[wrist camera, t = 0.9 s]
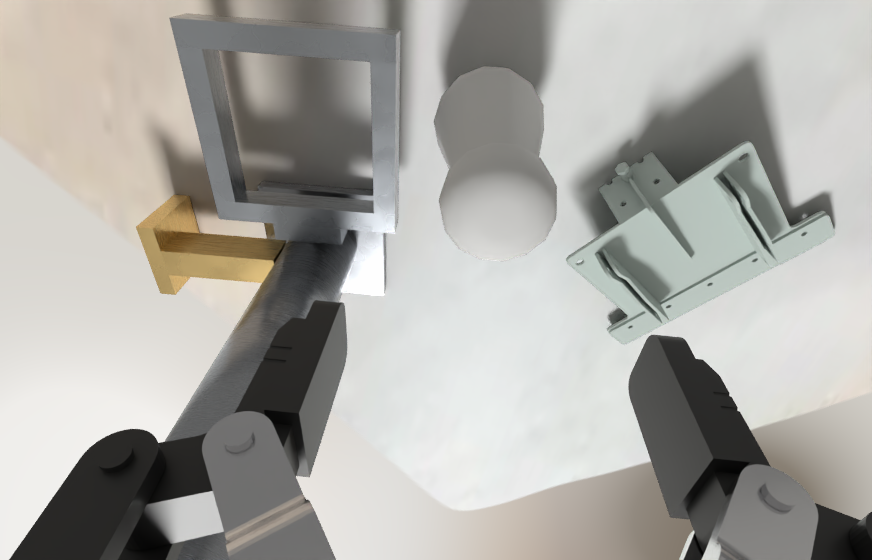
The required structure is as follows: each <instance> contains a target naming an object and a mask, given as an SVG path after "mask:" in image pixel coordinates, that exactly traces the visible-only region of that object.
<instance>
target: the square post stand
mask: <svg viewBox="0 0 872 560" xmlns="http://www.w3.org/2000/svg"><path fill="white" fill-rule="evenodd" d="M170 22H171V26H172V30H173V34H174V38H175V42H176V46H177V50H178V54H179V58H180V63H181V67H182V71H183V75H184V79H185V83H186V87H187V91H188V95H189V99H190V103H191V107H192V111H193V115H194V119H195V123H196V127H197V131H198V135H199V139H200V143H201V147H202V151H203V156H204V160H205V164H206V168H207V172H208V176H209V180H210V184H211V188H212V192H213V196H214V200H215V204H216V208H217V212H218V216H219V219H226V220H238V221H250V222H262V223H264V224H265V230H266V235H267V239H264V238H252V237H240V236H228V235H216V234H204V233H199V229H198V226H197V222H196V219H195V215H194V212H193V208H192V204H191V201H190V197H189V196H185V195H173V196H172V197H171V198H170V199H169V200H167V201H166V202H165V203H164V204H163V205H162V206H160V207H159V208H158V209H157V210H156V211H154V212H153V213H152V214H151V215H150V216H148V217H147V218H146V219H145V220H144V221H143V222H141V223H140V224H139V225H138V226H137V227H136V229H137V231H138V234H139V237H140V239H141V242H142V245H143V247H144V250H145V253H146V255H147V258H148V261H149V264H150V266H151V269H152V272H153V274H154V277H155V280H156V282H157V285H158V288H159V290H160V293H162V294H174V295H175V294H177V292H178V291H179V290H180V289H181V288H182V286H183V285H184V284H185V283H186V282H187V281H188V279H189V278H190V277H199V278H211V279H222V280H234V281H246V282H258V283H262V285H261V286H260V288H259V289H258V291H257V293H256V294H255V296H254V297H253V299H252V301H251V302H250V304H249V306H248V307H247V309H246V310H245V312H244V314H243V315H242V317H241V319H240V320H239V322H238V323H237V325H236V327H235V328H234V330H233V332H232V333H231V335H230V336H229V338H228V340H227V341H226V343H225V345H224V347H223V348H222V349H221V351H220V353H219V354H218V356H217V358H216V359H215V361H214V362H213V364H212V366H211V367H210V369H209V371H208V372H207V374H206V375H205V377H204V379H203V381H202V382H201V384H200V385H199V387H198V388H197V390H196V392H195V393H194V395H193V396H192V398H191V400H190V401H189V403H188V405H187V406H186V408H185V409H184V411H183V413H182V414H181V416H180V418H179V420H178V421H177V423H176V424H175V426H174V427H173V429H172V431H171V432H170V434H169V435H168V437H167V439H166V441H165V442H167V441H173V440H178V439H184V438H189V437H195V436H199V435H202V434H205V433H208V431H209V430H210V429H211V428H212V426H213V425H214V424H216V423H217V422H218V421H220V420H221V419H223V418H224V417H226V416H229V415H231V414H234V412H235V411H236V409H237V408H238V406H239V404H240V402H241V400H242V398H243V396H244V394H245V392H246V390H247V388H248V386H249V384H250V383H251V381H252V379H253V377H254V375H255V373H256V371H257V369H258V367H259V365H260V363H261V361H263V358H264V356H265V354H266V352H267V350H268V348H270V344H271V342H272V340H273V338H274V336H275V334H276V332H277V331H278V329H280V328H281V327H282V326H283V325H284V324H285V323H287V322H288V321H289V320H290V319H291V318H293V317H294V318H304V319H306V317H307V315H308V312H309V310H310V308H311V306H312V304H313V302H314V301H315V300H320V301H330V302H339V300H340V298H341V295H342V292H344V293H356V294H367V295H379V296H384V293H385V233H395V230H396V227H397V223H398V195H399V111H400V30H397V29H384V28H371V27H357V26H344V25H331V24H318V23H305V22H292V21H279V20H266V19H252V18H239V17H226V16H213V15H200V14H183V15H179V16H175V17H171V18H170ZM218 50H225V51H238V52H251V53H264V54H277V55H289V56H302V57H315V58H328V59H341V60H354V61H367V62H370V65H371V109H372V152H373V190H362V189H350V188H338V187H326V186H313V185H301V184H289V183H277V182H264V181H262V182H261V183H260V184H259V186H258V191H251V190H246V186H245V181H244V176H243V171H242V166H241V161H240V156H239V151H238V146H237V141H236V136H235V131H234V126H233V121H232V116H231V111H230V106H229V101H228V96H227V91H226V86H225V81H224V76H223V71H222V66H221V61H220V56H219V51H218ZM177 560H229V557H228V553H227V548H226V537H225V533H224V532H220V533H216V534H212V535H207V536H203V537H199V538H194V539H190V540H186V541H185V542H184V545H183V547H182V549H181V552H180V554H179V556H178V559H177Z"/></svg>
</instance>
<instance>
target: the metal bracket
mask: <svg viewBox="0 0 872 560" xmlns="http://www.w3.org/2000/svg"><path fill="white" fill-rule="evenodd" d="M745 153H748V154H747V156H746V157H745V158H744V159H742V160H739V158H740V157H741V156H742V155H743V154H745ZM643 159H644V161H643V162H642V163H638V161H637V162H636V163H634V164H633V165H631V166H630V167H629V166H628V165H627V163H626V162H623V163H620V164H618V165H617V167H616V168H615V171H616V173H617V174H618V175H617V176H616V177H615V178H613V179H612V183H611V184H610V185H607V183H606V184H605V185H603V186H602V187H600V188H599V191H600V193H601V194H602V196H603V198H604V199H605V201H606V203H607V204H608V206H609V207H610V209H611V211H612V212H613V214H614V216H615V217H616V219H617V221H618V222H619V223H618V224H617V225H615V226H614V227H612V228H610V229H609V230H607V231H606V232H604V233H603V234H601V235H600V236H598V237H597V238H595V239H594V240H592V241H591V242H589V243H588V244H586V245H584V246H583V247H581V248H580V249H578V250H577V251H575V252H574V253H572V254H571V255H569V256H568V257H567V258H566V261H567V263H568V264H569V265H570V266H571V267H572V268H573V269H574V270H576V271H577V272H578V273H579V274H580V275H581V276H583V277H584V278H585V279H586V280H587V281H588V282H590V283H591V284H592V285H593V286H594V287H595V288H597V289H598V290H599V291H600V292H601V293H602V294H604V295H605V296H606V297H607V298H608V299H609V300H610V301H612V302H613V303H614V304H615V305H616V306H617V307H619V308H620V309H621V310H622V311H623V312H624V313H626V314H627V317H625V318H624V319H622V320H620V321H618V322H616V323H615V324H613V325H611V326H609V327H608V328H607V331H608V332H609V334H610V335H611V336H612V337H614V338H615V339H616V340H618V341H619V342H620V343H621V344H628V343H629V342H631V341H633V340H635V339H637V338H639V337H641V336H643V335H645V334H647V333H649V332H651V331H653V330H654V329H656V328H658V327H660V326H662V325H664V324H666V323H668V322H670V321H672V320H674V319H676V318H678V317H679V316H681V315H683V314H685V313H687V312H689V311H691V310H693V309H695V308H697V307H699V306H701V305H703V304H704V303H706V302H708V301H710V300H712V299H714V298H716V297H718V296H720V295H722V294H724V293H726V292H728V291H729V290H731V289H733V288H735V287H737V286H739V285H741V284H743V283H745V282H747V281H749V280H751V279H753V278H754V277H756V276H758V275H760V274H762V273H764V272H766V271H768V270H770V269H772V268H774V267H776V266H778V265H779V264H783V263H784V262H786V261H788V260H790V259H792V258H794V257H796V256H798V255H800V254H802V253H804V252H806V251H808V250H810V249H812V248H814V247H816V246H818V245H819V244H821V243H823V242H825V241H826V240H828V239H829V238H831V237H833V236H834V235H835V231H834V228H833V225H832V222H831V219H830V216H829V215H827V213H826V212H825V211H819V212H817V213H815V214H813V215H811V216H810V217H808V218H806V219H804V220H802V221H801V222H799V223H797V224H795V225H792V226H789V224H788V221H787V219H786V217H785V215H784V212H783V210H782V208H781V206H780V204H779V201H778V199H777V197H776V195H775V192H774V190H773V188H772V186H771V184H770V181H769V179H768V177H767V175H766V173H765V170H764V168H763V166H762V164H761V161H760V159H759V157H758V155H757V153H756V150H755V148H754V146H753V144H752V143H751V142H750V141H744V142H742V143H740V144H739V145H737V146H736V147H734V148H733V149H731V150H730V151H728V152H727V153H725V154H724V155H722V156H720V157H719V158H717V159H716V160H714V161H713V162H711V163H710V164H708V165H707V166H705V167H704V168H702V169H701V170H699V171H698V172H696V173H695V174H693V175H691V176H690V177H688V178H687V179H685V180H684V181H682V182H681V183H679V184H677V182H676V181H675V180H674V179H673V177H672V176H671V175H670V174H669V172H668V171H667V170H666V169H665V167H664V166H663V165H662V164H661V162H660V161H659V160H658V159H657V157H656V156H655V155H654V154H653V152H652V151H651V152H650V153H648V154H647V155H646V156H644V157H643ZM658 180H660V182H659V183H658V184H655V182H656V181H658ZM623 203H626V205H625V206H622V204H623ZM581 259H583V261H582V262H581V263H576V262H577V261H578V260H581Z"/></svg>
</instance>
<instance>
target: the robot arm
mask: <svg viewBox="0 0 872 560" xmlns="http://www.w3.org/2000/svg"><path fill="white" fill-rule="evenodd" d="M346 356H347V333H346V317H345V306H344V303H340V302H330V301H320V300H315V301H314V302H313V304H312V306H311V308H310V310H309V312H308V315H307V317H306V319H304V318H294V317H293V318H291V319H290V320H289V321H288V322H287V323H285V324H284V325H283V326H282V327H281V328H280V329H278V331H277V332H276V334H275V336H274V338H273V340H272V342H271V344H270V348H268V350H267V352H266V354H265V356H264V358H263V361H261V363H260V365H259V367H258V369H257V371H256V373H255V375H254V377H253V379H252V381H251V383H250V384H249V386H248V388H247V390H246V392H245V394H244V396H243V398H242V400H241V402H240V404H239V406H238V408H237V409H236V411H235V412H234V414H231V415H229V416H226V417H224V418H223V419H221V420H220V421H218V422H217V423H216V424H214V425H213V426H212V428H211V429H210V430H209V431H208V433H205V434H202V435H199V436H195V437H189V438H184V439H178V440H173V441H167V442H162V443H158V442H157V440H156V438H155V437H154V436H153V435H152V434H151V433H149V432H148V431H145V430H140V429H129V430H123V431H119V432H116V433H113V434H111V435H109V436H107V437H105V438H103V439H101V440H100V441H98V442H96V443H95V444H94V445H93V446H91V447H90V448H89V449H88V450H87V451H86V452H85V453H84V455H83V456H82V457H81V458H80V460H79V461H78V463H77V464H76V466H75V467H74V468H73V470H72V471H71V473H70V474H69V475H68V477H67V478H66V480H65V481H64V483H63V484H62V486H61V487H60V488H59V490H58V491H57V493H56V494H55V495H54V497H53V498H52V500H51V501H50V502H49V504H48V506H47V507H46V508H45V510H44V511H43V512H42V514H41V515H40V517H39V518H38V520H37V521H36V522H35V524H34V525H33V527H32V528H31V530H30V531H29V532H28V534H27V535H26V537H25V538H24V540H23V541H22V542H21V544H20V545H19V547H18V548H17V550H16V551H15V552H14V554H13V555H12V557H11V558H10V559H9V560H177V559H178V556H179V554H180V552H181V549H182V547H183V545H184V542H185V541H186V540H190V539H194V538H199V537H203V536H207V535H212V534H216V533H220V532H224V533H225V537H226V548H227V553H228V557H229V560H336V559H335V556H334V554H333V552H332V549H331V547H330V545H329V543H328V540H327V538H326V536H325V533H324V531H323V529H322V527H321V524H320V522H319V520H318V518H317V515H316V513H315V511H314V509H313V507H312V505H311V503H310V501H309V500H306V499H305V497H304V495H303V493H302V491H301V488H300V486H299V484H298V481H297V479H296V476H303V477H310V474H311V471H312V467H313V465H314V462H315V458H316V455H317V452H318V449H319V446H320V443H321V439H322V436H323V433H324V430H325V426H326V423H327V420H328V417H329V414H330V411H331V408H332V405H333V401H334V398H335V395H336V392H337V389H338V386H339V382H340V379H341V376H342V373H343V370H344V366H345V362H346ZM629 396H630V400H631V403H632V405H633V408H634V411H635V414H636V417H637V420H638V423H639V426H640V429H641V432H642V435H643V438H644V441H645V444H646V447H647V450H648V453H649V456H650V459H651V462H652V465H653V468H654V470H655V473H656V476H657V480H658V483H659V485H660V488H661V491H662V494H663V497H664V500H665V503H666V506H667V509H668V512H669V515H670V517H672V518H681V519H690V521H691V524H692V527H693V529H694V530H693V531H692V533H691V534H690V535H689V537H688V539H687V542H686V544H685V547H684V549H683V551H682V554H681V556H680V559H679V560H872V512H871V513H869V514H868V515H867V516H866V517H864V518H863V519H862V520H858V519H856V518H853V517H850V516H848V515H845V514H842V513H839V512H837V511H834V510H832V509H829V508H826V507H824V506H821V505H818V504H816V503H814V501H813V499H812V498H811V496H810V495H809V494H808V492H807V491H806V490H805V489H804V488H803V487H802V486H801V485H800V484H799V483H798V482H797V481H796V480H794V479H793V478H792V477H790V476H789V475H787V474H785V473H784V472H782V471H779V470H778V469H775V468H772V467H771V466H770V465H769V463H768V461H767V459H766V457H765V456H764V454H763V452H762V450H761V449H760V447H759V445H758V443H757V441H756V440H755V438H754V436H753V435H752V433H751V431H750V429H749V427H748V425H747V424H746V422H745V420H744V418H743V417H742V415H741V413H740V412H739V411H737V406H736V404H735V402H734V401H733V399H732V397H729V392H728V390H727V388H726V386H725V385H724V383H723V381H722V379H721V377H720V376H719V375H718V374H717V373H716V372H715V371H714V370H713V369H712V368H711V367H710V366H709V365H708V364H707V363H706V362H705V361H704V360H700V359H695V357H694V355H693V353H692V351H691V349H690V347H689V346H688V344H687V342H686V341H685V339H683V338H680V337H670V336H660V335H651V336H649V337H648V339H647V340H646V342H645V344H644V347H643V349H642V351H641V353H640V355H639V357H638V360H637V362H636V364H635V366H634V368H633V370H632V373H631V375H630V379H629Z"/></svg>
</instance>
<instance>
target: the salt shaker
mask: <svg viewBox="0 0 872 560" xmlns="http://www.w3.org/2000/svg"><path fill="white" fill-rule="evenodd" d="M434 125H435V130H436V136H437V141H438V145H439V148H440V150H441V152H442V155H443V157H444V159H445V161H446V164H447V166H448V168H449V171H448V174H447V177H446V180H445V183H444V186H443V188H442V191H441V195H440V198H439V203H440V209H441V214H442V220H443V224H444V228H445V231H446V233H447V234H448V235H449V237H450V238H451V239H452V241H453V242H454V243H455V245H456V246H457V247H458V249H460V250H462V251H464V252H466V253H468V254H470V255H472V256H474V257H476V258H478V259H483V260H493V261H506V260H510V259H513V258H516V257H519V256H523V255H526V254H528V253H529V252H530V251H531V250H533V249H534V248H535V247H537V246H538V245H539V244H541V243H542V242H543V241H544V240H546V238H547V236H548V234H549V232H550V230H551V228H552V226H553V224H554V222H555V220H556V210H557V186H556V184H555V182H554V180H553V178H552V176H551V175H550V173H549V171H548V170H547V168H546V166H545V165H544V163H543V161H542V160H541V158H539V154H540V148H541V143H542V138H543V132H544V115H543V104H542V102H541V100H540V98H539V96H538V95H537V93H536V91H535V89H534V87H533V85H532V84H531V83H530V82H529V81H528V80H526V79H524V78H523V77H521V76H520V75H518V74H517V73H515V72H514V71H512V70H511V69H509V68H502V67H488V66H483V67H480V68H478V69H475V70H473V71H470V72H468V73H465V74H463V75H460V76H459V77H458V78H457V79H456V80H455V81H454V83H453V84H452V85H451V86H450V87H449V88H448V90H447V91H446V92H445V93H444V94H443V95H442V97H441V100H440V103H439V106H438V109H437V112H436V115H435V119H434Z"/></svg>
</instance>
